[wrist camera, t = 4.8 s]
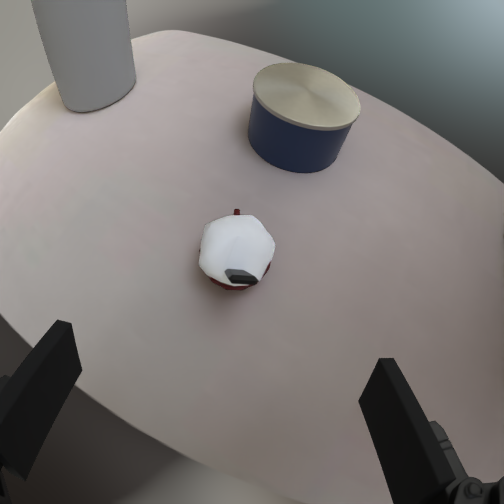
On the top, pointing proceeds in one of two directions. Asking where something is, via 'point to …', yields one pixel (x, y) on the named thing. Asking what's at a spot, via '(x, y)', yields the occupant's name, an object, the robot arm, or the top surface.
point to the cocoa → (236, 251)
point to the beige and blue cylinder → (300, 116)
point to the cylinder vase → (87, 50)
